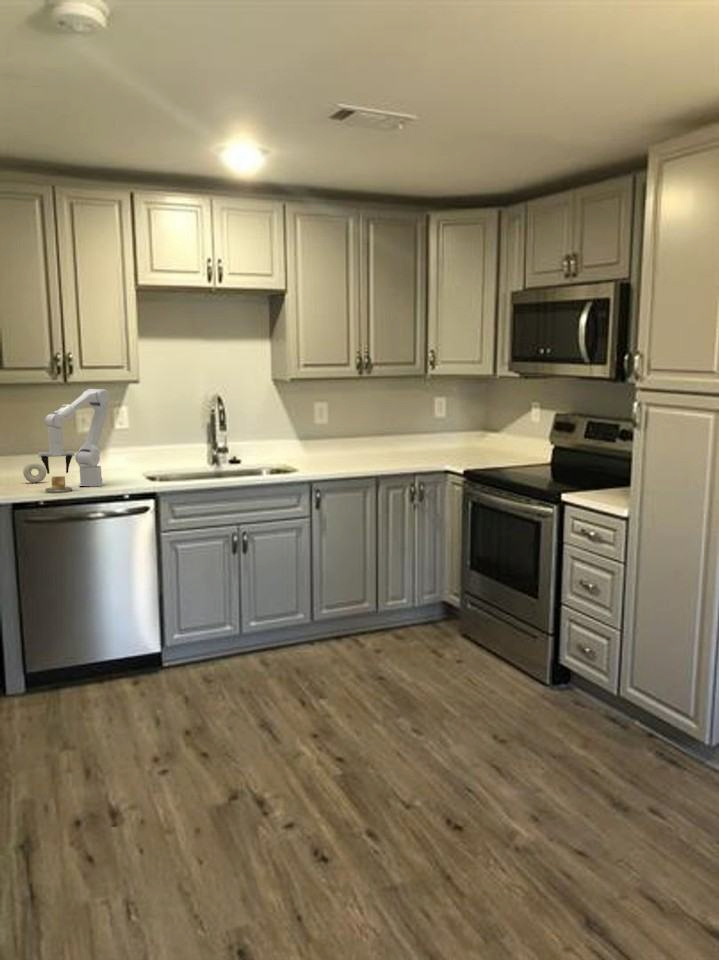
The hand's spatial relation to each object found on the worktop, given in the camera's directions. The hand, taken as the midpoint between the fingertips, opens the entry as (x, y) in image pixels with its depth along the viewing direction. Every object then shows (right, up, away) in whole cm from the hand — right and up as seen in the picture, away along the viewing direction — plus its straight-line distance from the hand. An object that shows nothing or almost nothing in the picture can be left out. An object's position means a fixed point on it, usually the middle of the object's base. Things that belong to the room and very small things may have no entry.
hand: (57, 473), depth 345 cm
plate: (0, -8, +1) cm, 8 cm away
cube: (0, -7, +1) cm, 7 cm away
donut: (-18, -5, +22) cm, 29 cm away
